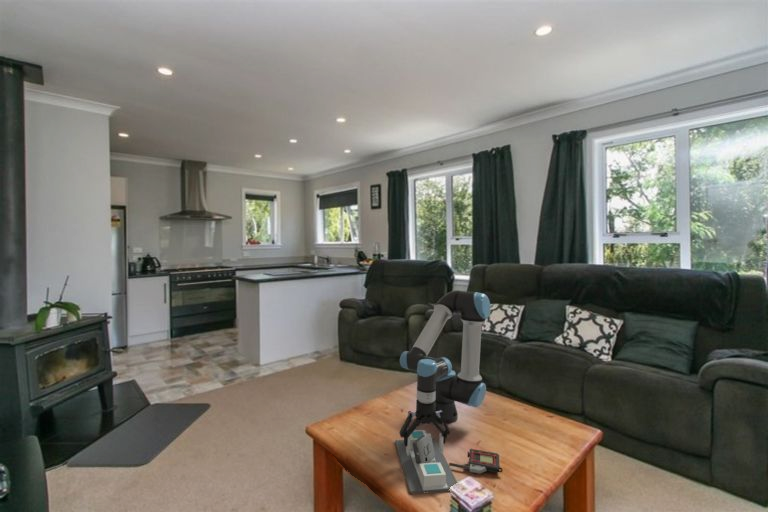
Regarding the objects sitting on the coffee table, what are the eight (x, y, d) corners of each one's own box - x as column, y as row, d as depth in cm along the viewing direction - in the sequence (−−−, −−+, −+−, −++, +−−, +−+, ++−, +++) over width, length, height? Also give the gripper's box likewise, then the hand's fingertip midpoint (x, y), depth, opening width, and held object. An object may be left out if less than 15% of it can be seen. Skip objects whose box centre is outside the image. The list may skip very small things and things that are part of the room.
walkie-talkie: (503, 474, 131) (448, 464, 137) (502, 482, 133) (448, 471, 138) (502, 453, 139) (450, 444, 144) (501, 460, 141) (450, 451, 146)
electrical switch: (423, 468, 135) (422, 444, 135) (412, 464, 138) (410, 440, 138) (435, 457, 142) (434, 434, 143) (424, 453, 146) (423, 430, 146)
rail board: (434, 440, 157) (435, 427, 157) (459, 490, 126) (460, 474, 125) (395, 442, 155) (395, 429, 155) (410, 494, 123) (410, 478, 123)
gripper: (396, 405, 134) (395, 460, 135) (459, 402, 137) (457, 456, 138) (393, 396, 141) (392, 448, 142) (453, 394, 145) (451, 445, 145)
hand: (424, 452), depth 140 cm, fingers open, 13 cm apart
